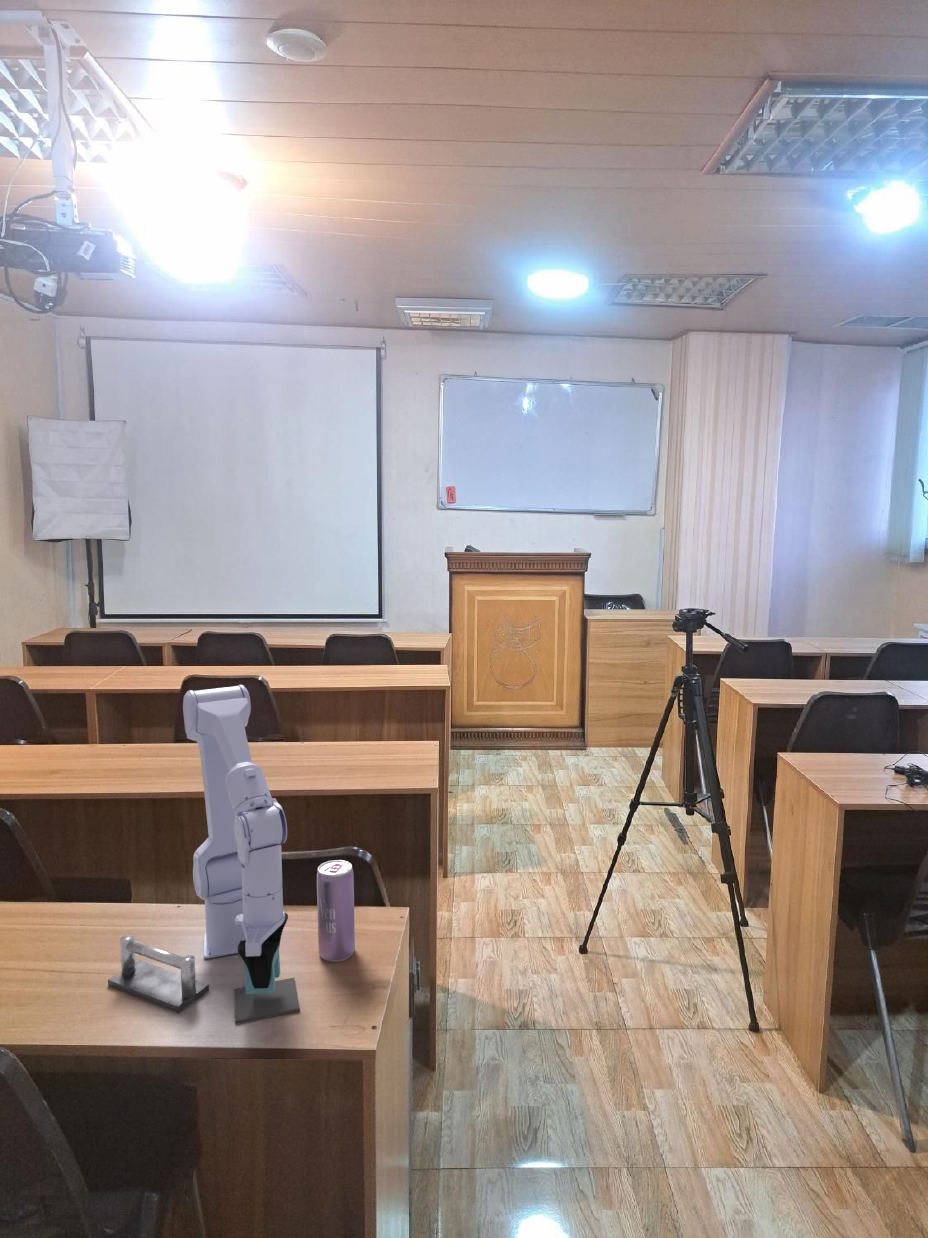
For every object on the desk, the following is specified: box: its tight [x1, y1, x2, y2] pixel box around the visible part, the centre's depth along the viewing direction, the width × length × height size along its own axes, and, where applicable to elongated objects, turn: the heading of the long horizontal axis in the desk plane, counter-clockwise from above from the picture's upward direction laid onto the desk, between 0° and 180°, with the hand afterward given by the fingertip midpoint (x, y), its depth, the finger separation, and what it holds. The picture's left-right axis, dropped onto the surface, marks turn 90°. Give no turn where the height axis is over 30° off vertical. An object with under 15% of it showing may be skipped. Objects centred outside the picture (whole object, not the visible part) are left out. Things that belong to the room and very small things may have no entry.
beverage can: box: [316, 859, 356, 963], centre depth 122 cm, size 6×6×15 cm
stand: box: [107, 934, 210, 1014], centre depth 113 cm, size 6×15×6 cm, turn 64°
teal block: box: [243, 946, 281, 994], centre depth 109 cm, size 5×4×5 cm
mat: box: [233, 977, 301, 1025], centre depth 110 cm, size 9×8×1 cm
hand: (265, 975), depth 109 cm, fingers closed on teal block, 5 cm apart
